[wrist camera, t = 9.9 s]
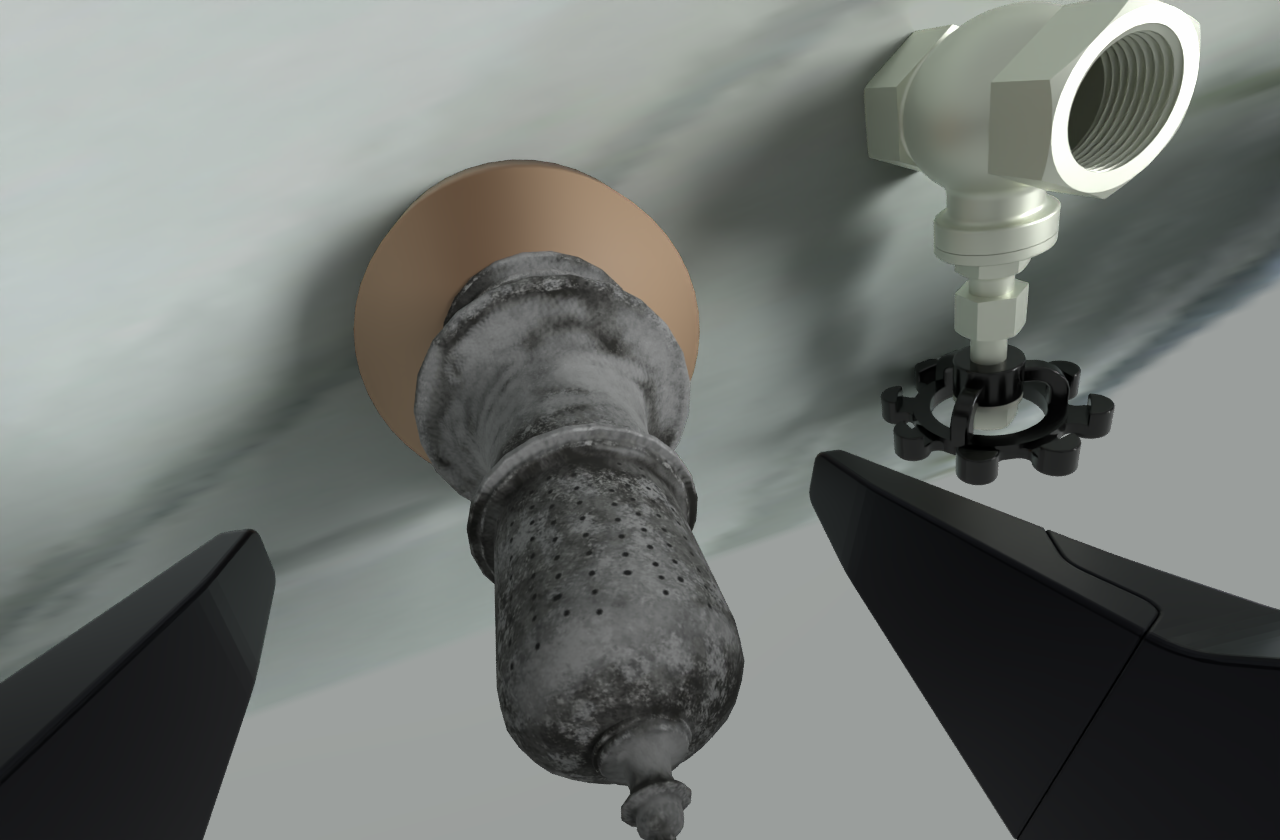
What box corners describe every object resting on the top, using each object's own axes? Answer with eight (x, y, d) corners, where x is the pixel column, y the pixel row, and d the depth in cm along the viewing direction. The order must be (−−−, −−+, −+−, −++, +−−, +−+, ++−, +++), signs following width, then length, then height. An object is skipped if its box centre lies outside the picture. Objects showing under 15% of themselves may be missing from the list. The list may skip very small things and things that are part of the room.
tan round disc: (650, 129, 16) (677, 132, 13) (690, 409, 20) (714, 445, 18) (313, 198, 14) (283, 214, 12) (436, 478, 19) (430, 525, 17)
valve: (803, 62, 16) (845, 412, 22) (980, 38, 10) (968, 517, 16) (1016, -15, 16) (997, 352, 22) (1300, -79, 11) (1169, 434, 17)
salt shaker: (423, 226, 13) (209, 657, 3) (666, 249, 15) (1083, 579, 4) (432, 446, 16) (335, 1073, 6) (636, 445, 17) (854, 933, 7)
